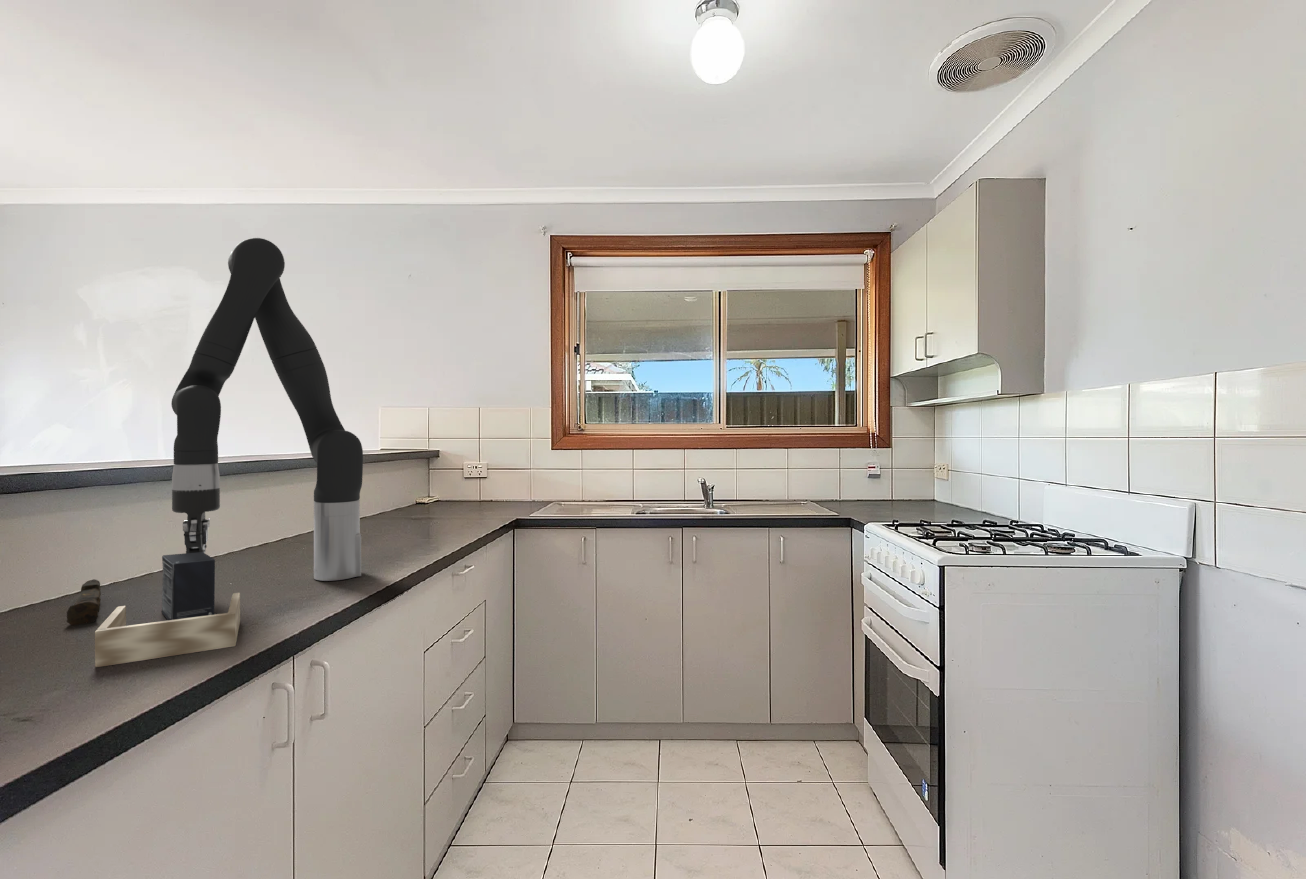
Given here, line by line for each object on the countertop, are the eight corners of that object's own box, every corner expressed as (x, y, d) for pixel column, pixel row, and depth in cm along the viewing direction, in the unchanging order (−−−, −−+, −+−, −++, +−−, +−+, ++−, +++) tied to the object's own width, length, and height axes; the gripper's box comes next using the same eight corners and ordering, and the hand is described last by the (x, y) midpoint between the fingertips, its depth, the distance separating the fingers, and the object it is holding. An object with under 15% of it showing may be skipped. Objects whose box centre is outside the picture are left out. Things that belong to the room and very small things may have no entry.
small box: (217, 617, 106) (217, 558, 106) (170, 625, 101) (170, 563, 101) (204, 605, 113) (204, 549, 113) (160, 612, 109) (159, 554, 109)
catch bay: (240, 621, 104) (240, 592, 104) (235, 645, 92) (235, 613, 92) (117, 637, 95) (117, 606, 95) (95, 667, 83) (95, 631, 83)
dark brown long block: (98, 623, 103) (98, 596, 103) (66, 628, 101) (66, 600, 101) (112, 599, 118) (112, 575, 118) (84, 602, 116) (84, 578, 116)
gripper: (216, 488, 115) (216, 579, 115) (222, 483, 126) (222, 565, 126) (166, 490, 111) (166, 584, 111) (177, 485, 122) (177, 570, 122)
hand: (196, 574), depth 119 cm, fingers closed
